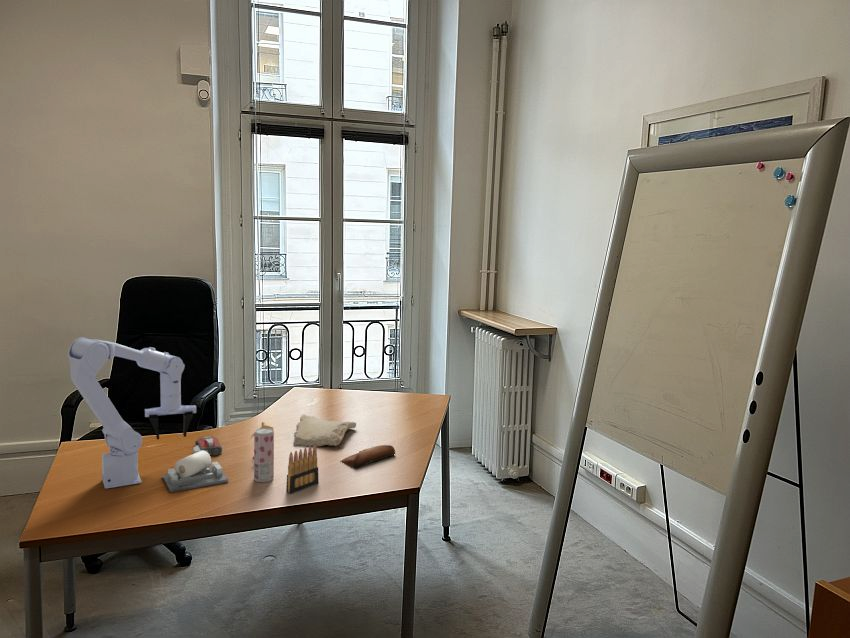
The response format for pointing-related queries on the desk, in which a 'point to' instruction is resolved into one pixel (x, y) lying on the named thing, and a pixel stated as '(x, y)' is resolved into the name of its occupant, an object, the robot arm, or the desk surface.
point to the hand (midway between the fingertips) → (171, 437)
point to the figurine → (264, 427)
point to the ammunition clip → (302, 470)
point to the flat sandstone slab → (320, 431)
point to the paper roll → (192, 464)
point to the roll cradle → (195, 478)
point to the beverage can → (263, 455)
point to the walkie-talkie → (208, 445)
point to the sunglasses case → (369, 455)
